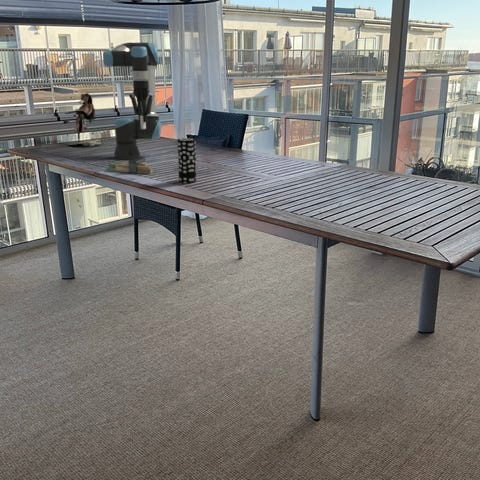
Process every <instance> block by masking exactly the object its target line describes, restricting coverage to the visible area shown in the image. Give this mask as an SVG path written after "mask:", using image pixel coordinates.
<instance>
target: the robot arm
mask: <svg viewBox="0 0 480 480" xmlns="http://www.w3.org/2000/svg"><path fill="white" fill-rule="evenodd" d="M102 62H103V65H104V66H105V67H109V68H110V67H111V68H113V67H114V68H115V67H117V68H118V67H122V68H123V67H131V68H132V71H131V72H132V73H131V74H132V80H133V81H132V86H133V90H132V93H130V94H129V95H128V96H129V99H130V100H131V104H132V108H133V111H134V115H138V119H137V118H136V117H135V116H126V117H121V118H117V119H116V120H115V121H114V125H115V126H114V128H115V141H116V146H115V150H114V154H113V155H114V156H113V157H114V159H116V160H125V161H126V160H128V161H129V160H133V159H136V158H141V152H140V149H139V147H138V145H137V143H138V142H137V141H138V140H139V141H140V140H146V141H147V140H148V141H149V140H151V141H153V140H158V139H160V138H161V133H162V119H161V118H160V116H159V114H157V104H156V103H157V100H156V99H157V98H156V79H155V78H156V77H155V72H156V71H155V70H157V68H158V66H159V64H160V57H159V53H158V47H157V43H155V42H125V43H121V44H118V45H116V46H115V47H114V49H113V50H109V49H108V50H104V51H103V52H102Z"/></svg>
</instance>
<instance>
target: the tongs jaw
mask: <svg viewBox="0 0 480 480" xmlns="http://www.w3.org/2000/svg"><path fill="white" fill-rule="evenodd" d="M112 163H116V164H127V165H129V162H124V161H112ZM147 164H148V162H146V161H145V162H141V163H138V164H136V165H140V166H141V165H145V166H146V165H147Z"/></svg>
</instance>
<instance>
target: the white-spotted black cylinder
mask: <svg viewBox="0 0 480 480" xmlns="http://www.w3.org/2000/svg"><path fill="white" fill-rule="evenodd" d="M196 147H197V145H196V139H195V138H191V137H188V138H187V137H186V138H183V137H181V138H178V139H177V156H178V157H177V158H178V159H177V160H178V182H179V183H180V184H194V183H193V182H195V183H196V182H197V152H196V151H197V150H196Z"/></svg>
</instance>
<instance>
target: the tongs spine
mask: <svg viewBox="0 0 480 480" xmlns="http://www.w3.org/2000/svg"><path fill="white" fill-rule="evenodd" d="M108 171H109V172H120V173H132V172H129V165H127V164H116V163H113V162H111V163H108ZM136 174H144V175H151V174H153V166H151V165H149V166H148V165H145V166H144V165H141V166H140V165H137V173H136Z"/></svg>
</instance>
